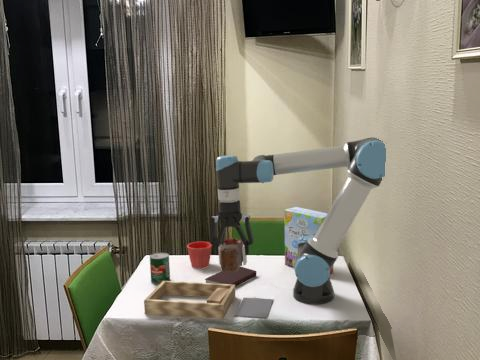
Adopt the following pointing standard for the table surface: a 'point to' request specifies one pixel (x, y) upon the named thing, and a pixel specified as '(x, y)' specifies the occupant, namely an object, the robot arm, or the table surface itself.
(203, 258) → the flower pot
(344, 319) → the table surface
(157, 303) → the tray
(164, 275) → the canned tomato
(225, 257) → the food item
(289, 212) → the snack box
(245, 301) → the mat
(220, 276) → the book
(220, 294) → the offcut stack
